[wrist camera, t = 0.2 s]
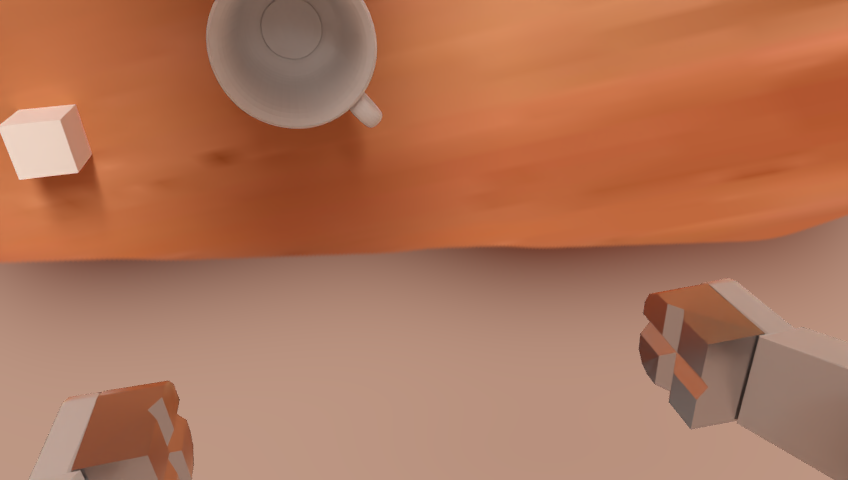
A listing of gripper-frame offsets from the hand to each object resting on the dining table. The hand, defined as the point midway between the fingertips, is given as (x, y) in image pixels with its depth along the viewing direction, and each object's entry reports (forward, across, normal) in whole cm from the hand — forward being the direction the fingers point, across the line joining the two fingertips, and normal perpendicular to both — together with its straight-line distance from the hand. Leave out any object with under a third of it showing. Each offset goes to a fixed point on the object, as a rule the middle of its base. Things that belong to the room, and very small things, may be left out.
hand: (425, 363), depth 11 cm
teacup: (+48, +1, +3) cm, 49 cm away
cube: (+48, +23, +9) cm, 54 cm away
